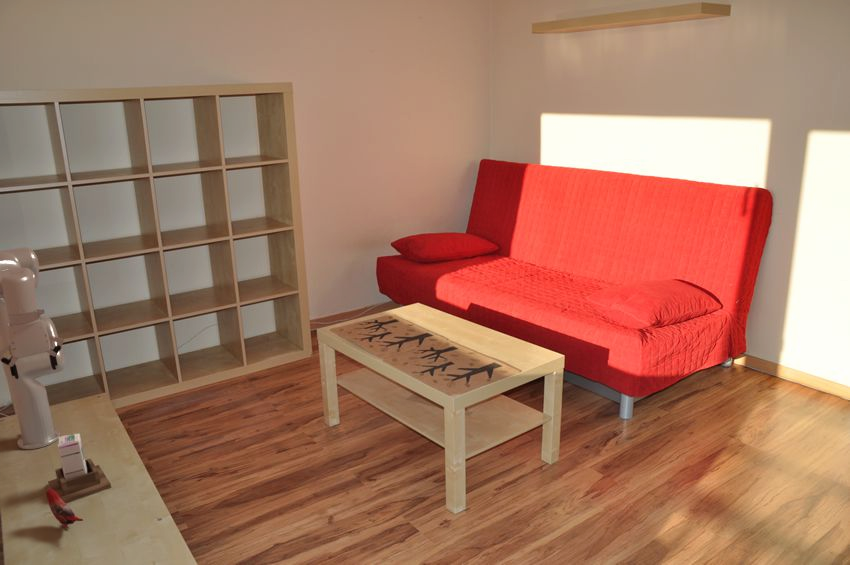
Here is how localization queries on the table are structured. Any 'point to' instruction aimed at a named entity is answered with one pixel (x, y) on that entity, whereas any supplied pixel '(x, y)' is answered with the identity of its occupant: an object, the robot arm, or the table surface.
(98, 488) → the stand
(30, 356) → the robot arm
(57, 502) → the decorative bird figurine
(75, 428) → the table surface
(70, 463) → the syrup box
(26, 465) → the table surface
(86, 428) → the table surface
